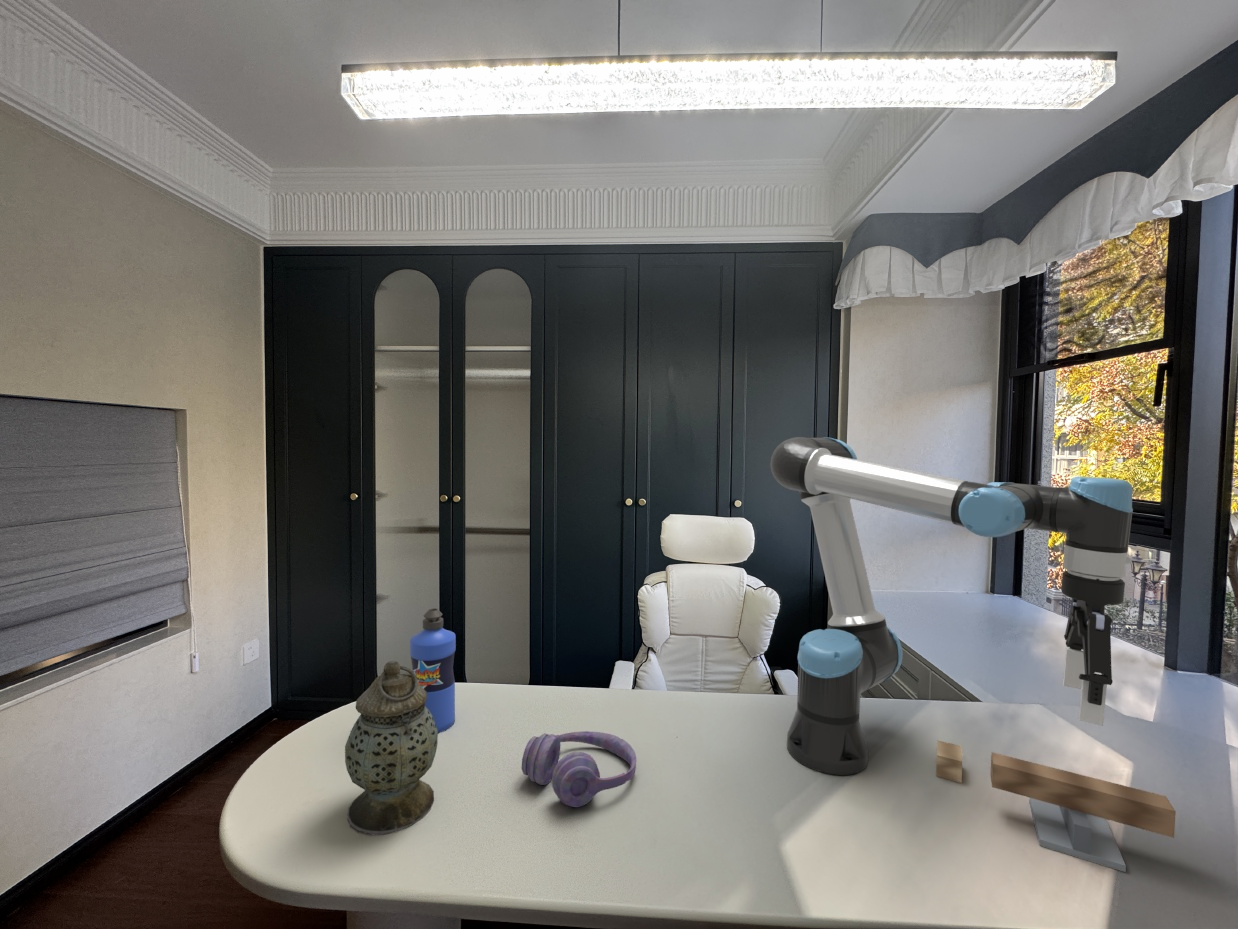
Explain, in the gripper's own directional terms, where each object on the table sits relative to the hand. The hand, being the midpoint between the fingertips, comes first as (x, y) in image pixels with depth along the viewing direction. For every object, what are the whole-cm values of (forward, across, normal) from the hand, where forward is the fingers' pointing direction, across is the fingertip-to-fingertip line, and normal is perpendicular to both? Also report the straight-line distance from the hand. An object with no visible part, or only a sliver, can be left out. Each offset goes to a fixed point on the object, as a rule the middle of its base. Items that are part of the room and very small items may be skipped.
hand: (1081, 703), depth 88 cm
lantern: (+23, -57, +97) cm, 114 cm away
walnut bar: (+15, -3, 0) cm, 16 cm away
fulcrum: (+20, -3, 0) cm, 20 cm away
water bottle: (+23, -35, +113) cm, 120 cm away
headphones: (+22, -32, +75) cm, 85 cm away
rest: (+21, +6, +17) cm, 28 cm away
